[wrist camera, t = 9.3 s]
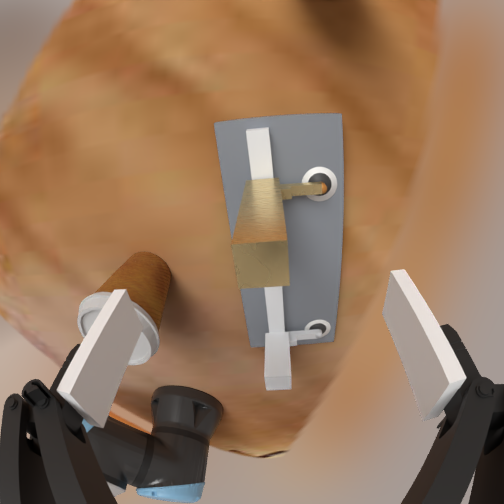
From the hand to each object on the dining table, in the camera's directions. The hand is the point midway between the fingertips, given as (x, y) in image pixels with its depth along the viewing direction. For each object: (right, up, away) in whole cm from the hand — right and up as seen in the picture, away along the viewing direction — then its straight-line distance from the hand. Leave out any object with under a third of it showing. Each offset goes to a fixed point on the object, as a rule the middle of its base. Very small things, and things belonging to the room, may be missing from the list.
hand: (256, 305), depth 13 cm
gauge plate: (+4, +3, +19) cm, 20 cm away
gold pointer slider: (+3, +9, +14) cm, 16 cm away
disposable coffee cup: (-14, 0, +22) cm, 26 cm away
